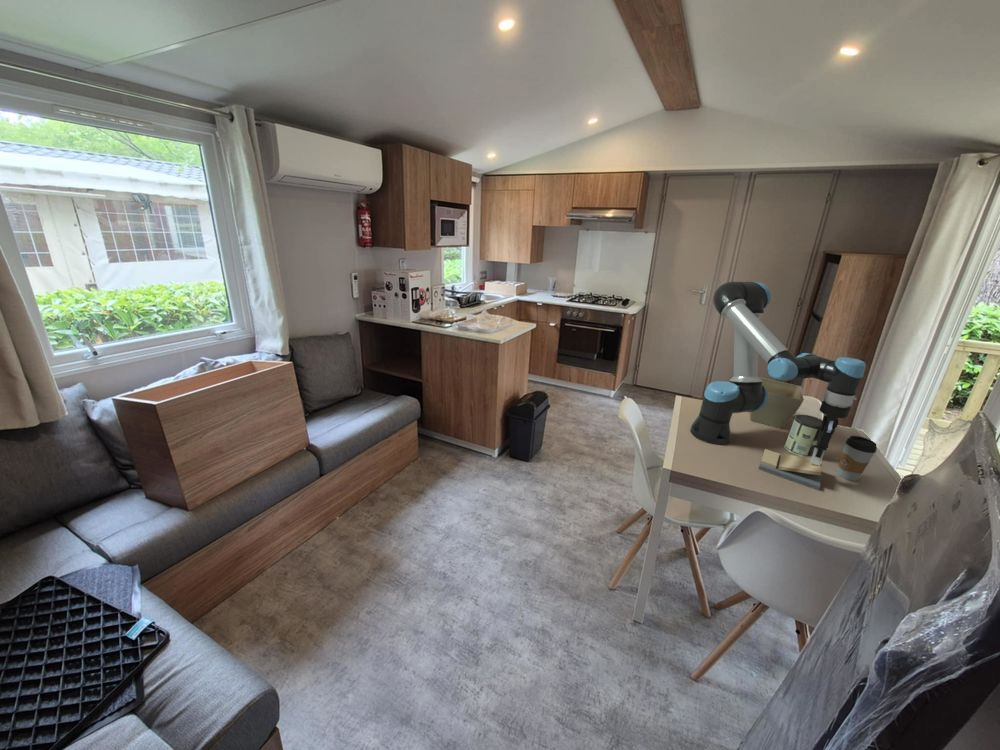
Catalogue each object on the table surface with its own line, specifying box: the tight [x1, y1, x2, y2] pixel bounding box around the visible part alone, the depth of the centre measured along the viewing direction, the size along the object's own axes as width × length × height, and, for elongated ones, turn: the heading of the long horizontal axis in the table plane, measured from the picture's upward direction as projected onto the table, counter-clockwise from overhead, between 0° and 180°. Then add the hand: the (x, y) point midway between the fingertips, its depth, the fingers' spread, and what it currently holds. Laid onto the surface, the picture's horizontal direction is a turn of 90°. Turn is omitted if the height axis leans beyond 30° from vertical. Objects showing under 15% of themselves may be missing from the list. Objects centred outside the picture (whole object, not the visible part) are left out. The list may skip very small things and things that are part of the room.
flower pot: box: [749, 376, 805, 429], centre depth 180 cm, size 19×19×17 cm
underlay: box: [758, 448, 822, 491], centre depth 144 cm, size 18×15×3 cm
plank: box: [779, 453, 823, 476], centre depth 142 cm, size 12×11×1 cm
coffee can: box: [784, 414, 823, 458], centre depth 156 cm, size 10×10×14 cm
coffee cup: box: [836, 435, 878, 482], centre depth 140 cm, size 8×8×15 cm
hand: (814, 463), depth 139 cm, fingers closed
